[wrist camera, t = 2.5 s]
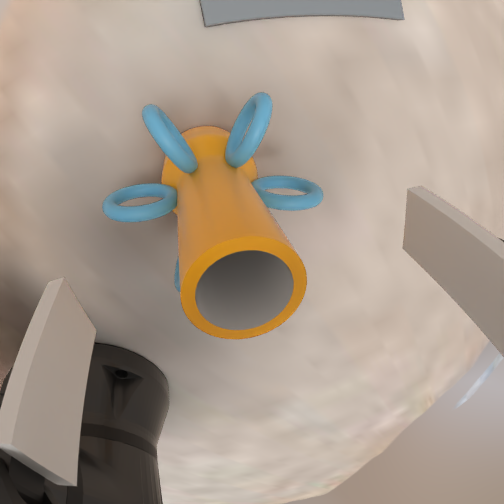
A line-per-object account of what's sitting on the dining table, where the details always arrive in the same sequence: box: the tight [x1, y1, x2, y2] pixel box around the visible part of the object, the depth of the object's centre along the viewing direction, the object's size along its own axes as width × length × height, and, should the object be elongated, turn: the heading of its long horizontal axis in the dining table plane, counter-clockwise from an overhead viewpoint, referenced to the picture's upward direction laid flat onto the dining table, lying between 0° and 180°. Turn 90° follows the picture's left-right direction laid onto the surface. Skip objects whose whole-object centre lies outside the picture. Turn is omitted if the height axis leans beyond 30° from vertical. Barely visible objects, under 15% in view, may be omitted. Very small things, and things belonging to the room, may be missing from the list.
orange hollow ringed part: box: [102, 93, 323, 339], centre depth 16 cm, size 12×10×15 cm
